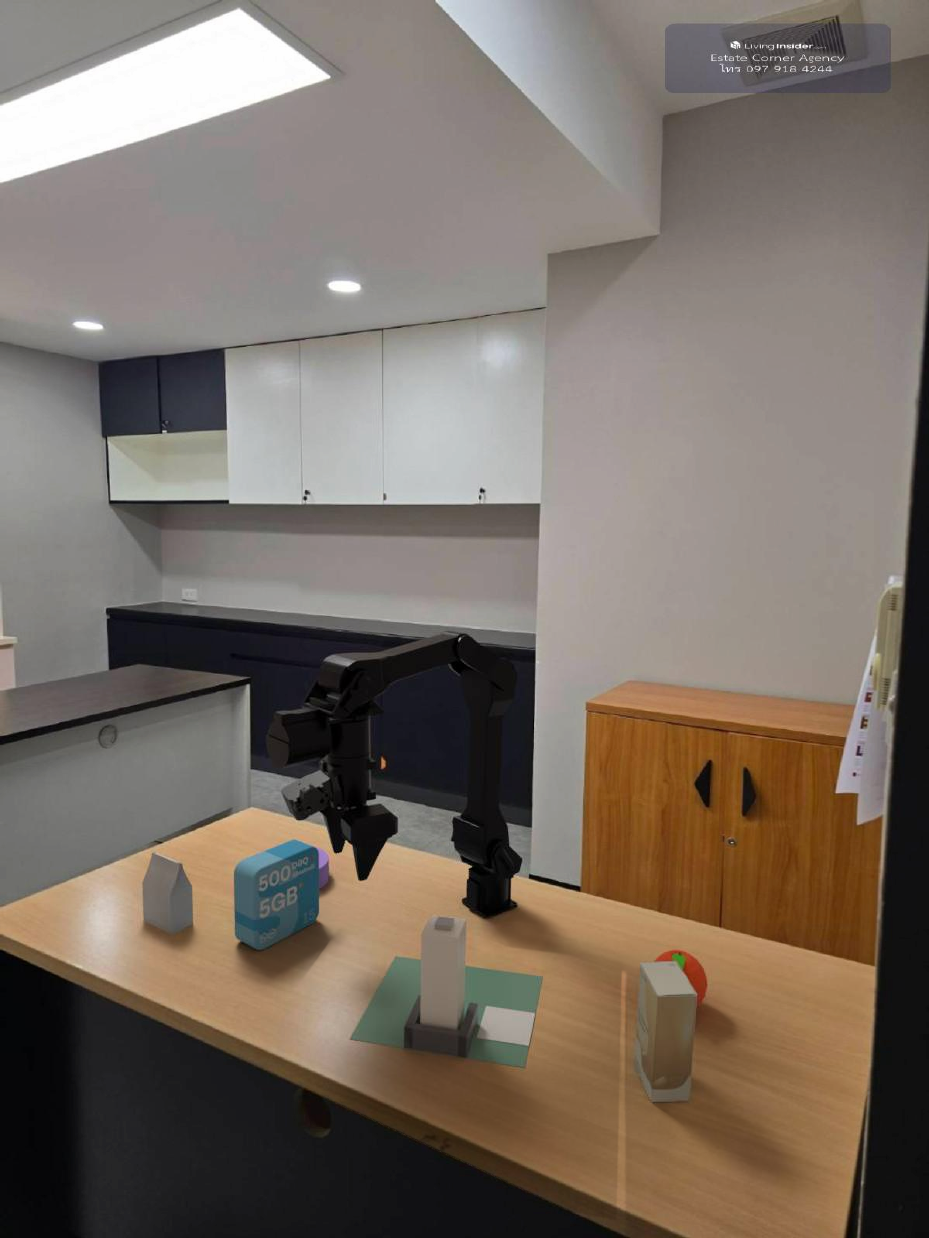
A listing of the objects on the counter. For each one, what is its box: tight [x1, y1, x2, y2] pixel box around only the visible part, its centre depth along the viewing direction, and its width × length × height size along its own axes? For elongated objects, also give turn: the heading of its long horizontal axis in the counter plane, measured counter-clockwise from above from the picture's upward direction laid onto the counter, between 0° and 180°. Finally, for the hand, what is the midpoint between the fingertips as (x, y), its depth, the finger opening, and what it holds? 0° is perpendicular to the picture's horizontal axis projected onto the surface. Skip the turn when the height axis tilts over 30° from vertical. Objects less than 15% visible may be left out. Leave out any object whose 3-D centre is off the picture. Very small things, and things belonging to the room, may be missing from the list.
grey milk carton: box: [141, 851, 194, 935], centre depth 113 cm, size 4×7×10 cm, turn 55°
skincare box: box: [633, 961, 698, 1103], centre depth 82 cm, size 6×4×12 cm
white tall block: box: [420, 914, 467, 1030], centre depth 88 cm, size 4×4×14 cm
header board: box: [349, 955, 543, 1069], centre depth 93 cm, size 18×20×4 cm
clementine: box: [653, 949, 708, 1007], centre depth 95 cm, size 8×7×7 cm
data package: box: [233, 839, 320, 951], centre depth 111 cm, size 12×4×12 cm, turn 143°
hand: (349, 865), depth 102 cm, fingers open, 9 cm apart
